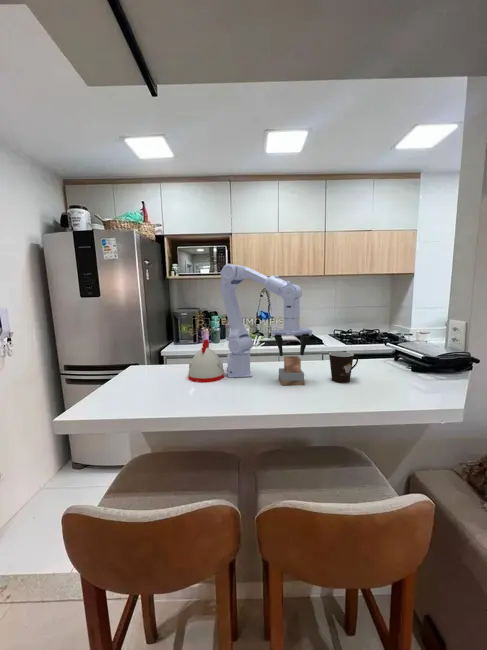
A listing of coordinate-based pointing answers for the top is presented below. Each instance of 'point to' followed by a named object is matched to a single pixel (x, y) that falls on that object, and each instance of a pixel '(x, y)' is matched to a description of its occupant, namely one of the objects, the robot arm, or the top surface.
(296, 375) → the slate slab
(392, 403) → the top surface
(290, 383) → the walnut slab
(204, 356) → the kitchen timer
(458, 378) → the top surface
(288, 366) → the terracotta cube
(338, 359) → the coffee mug
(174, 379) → the top surface
